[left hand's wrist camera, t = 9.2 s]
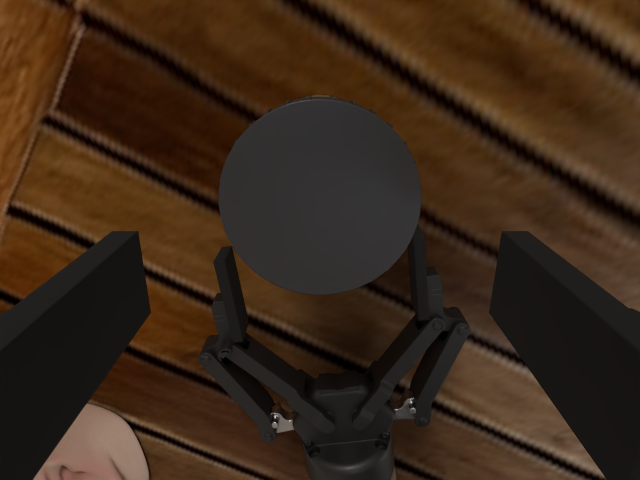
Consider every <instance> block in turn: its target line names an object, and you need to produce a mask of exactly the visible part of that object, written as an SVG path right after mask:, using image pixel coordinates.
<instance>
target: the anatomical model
mask: <svg viewBox="0 0 640 480" xmlns="http://www.w3.org/2000/svg"><path fill="white" fill-rule="evenodd" d="M33 480H149V472H148V466H147V463H146V460H145V457H144V454H143V451H142V449H141V446H140V444H139V442H138V440H137V438H136V436H135V434H134V432H133V431H132V429H131V428H130V426H129V425H128V424H127V423H126V422H125V421H124V420H123V419H122V418H121V417H120V416H118V415H117V414H115V413H113V412H111V411H109V410H107V409H104V408H102V407H99V406H96V405H92V404H88V403H87V404H86V405H85V407H84V408H83V409H82V411H81V412H80V414H79V415H78V417H77V418H76V419H75V421H74V422H73V424H72V425H71V426H70V428H69V429H68V431H67V432H66V434H65V435H64V436H63V438H62V439H61V441H60V442H59V443H58V445H57V446H56V448H55V449H54V451H53V452H52V453H51V455H50V456H49V458H48V459H47V460H46V462H45V463H44V465H43V466H42V468H41V469H40V470H39V472H38V473H37V475H36V476H35V477H34V479H33Z"/></svg>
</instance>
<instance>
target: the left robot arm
mask: <svg viewBox="0 0 640 480" xmlns="http://www.w3.org/2000/svg"><path fill="white" fill-rule="evenodd" d="M150 313H151V311H150V305H149V298H148V292H147V285H146V279H145V272H144V266H143V260H142V253H141V247H140V240H139V234H138V231H112V232H111V233H109V234H108V235H107V236H106V237H104V238H103V239H102V240H100V241H99V242H98V243H96V244H95V245H94V246H92V247H91V248H90V249H88V250H87V251H86V252H85V253H83V254H82V255H81V256H79V257H78V258H77V259H75V260H74V261H73V262H71V263H70V264H69V265H68V266H66V267H65V268H64V269H62V270H61V271H60V272H58V273H57V274H56V275H54V276H53V277H52V278H50V279H49V280H48V281H47V282H45V283H44V284H43V285H41V286H40V287H39V288H37V289H36V290H35V291H33V292H32V293H31V294H30V295H28V296H27V297H26V298H24V299H23V300H22V301H20V302H19V303H18V304H16V305H15V306H14V307H12V308H11V309H10V310H7V311H5V312H3V313H1V314H0V480H33V479H34V477H35V476H36V475H37V473H38V472H39V470H40V469H41V468H42V466H43V465H44V463H45V462H46V460H47V459H48V458H49V456H50V455H51V453H52V452H53V451H54V449H55V448H56V446H57V445H58V443H59V442H60V441H61V439H62V438H63V436H64V435H65V434H66V432H67V431H68V429H69V428H70V426H71V425H72V424H73V422H74V421H75V419H76V418H77V417H78V415H79V414H80V412H81V411H82V409H83V408H84V407H85V405H86V404H87V402H88V401H89V400H90V398H91V397H92V395H93V394H94V392H95V391H96V390H97V388H98V387H99V385H100V384H101V383H102V381H103V380H104V378H105V377H106V375H107V374H108V373H109V371H110V370H111V368H112V367H113V365H114V364H115V363H116V361H117V360H118V358H119V357H120V356H121V354H122V353H123V351H124V350H125V348H126V347H127V346H128V344H129V343H130V341H131V340H132V339H133V337H134V336H135V334H136V333H137V331H138V330H139V329H140V327H141V326H142V324H143V323H144V322H145V320H146V319H147V317H148V316H149V314H150ZM489 313H490V314H491V316H492V317H493V319H494V320H495V322H496V323H497V324H498V326H499V327H500V329H501V330H502V331H503V333H504V334H505V336H506V337H507V339H508V340H509V341H510V343H511V344H512V346H513V347H514V348H515V350H516V351H517V353H518V354H519V356H520V357H521V358H522V360H523V361H524V363H525V364H526V365H527V367H528V368H529V370H530V371H531V373H532V374H533V375H534V377H535V378H536V380H537V381H538V383H539V384H540V385H541V387H542V388H543V390H544V391H545V392H546V394H547V395H548V397H549V398H550V400H551V401H552V402H553V404H554V405H555V407H556V408H557V409H558V411H559V412H560V414H561V415H562V417H563V418H564V419H565V421H566V422H567V424H568V425H569V426H570V428H571V429H572V431H573V432H574V434H575V435H576V436H577V438H578V439H579V441H580V442H581V443H582V445H583V446H584V448H585V449H586V451H587V452H588V453H589V455H590V456H591V458H592V459H593V460H594V462H595V463H596V465H597V466H598V468H599V469H600V470H601V472H602V473H603V475H604V476H605V477H606V479H607V480H640V312H639V311H636V310H634V309H632V308H628V307H626V306H625V305H624V304H622V303H621V302H620V301H618V300H617V299H616V298H614V297H613V296H612V295H610V294H609V293H608V292H607V291H605V290H604V289H603V288H601V287H600V286H599V285H597V284H596V283H595V282H593V281H592V280H591V279H590V278H588V277H587V276H586V275H584V274H583V273H582V272H580V271H579V270H578V269H576V268H575V267H574V266H572V265H571V264H570V263H569V262H567V261H566V260H565V259H563V258H562V257H561V256H559V255H558V254H557V253H555V252H554V251H553V250H552V249H550V248H549V247H548V246H546V245H545V244H544V243H542V242H541V241H540V240H538V239H537V238H536V237H534V236H533V235H532V234H531V233H529V232H528V231H502V234H501V240H500V247H499V253H498V260H497V266H496V272H495V279H494V285H493V292H492V298H491V305H490V311H489Z"/></svg>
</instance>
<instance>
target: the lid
mask: <svg viewBox="0 0 640 480" xmlns="http://www.w3.org/2000/svg"><path fill="white" fill-rule="evenodd" d="M375 114H376V113H375V112H374V111H373V110H371V109H370V110H368V109H366V108H364V107H362V106H360V105H358V104H356V103H355V102H354V101H353V100H351V102H350V101H347V100H343V99H338V98H334V97H333V96H332V95H330V97H312V96H311V95H309V97H307V98H302V99H297V100H293V101H291V99H290V100H288V101H287V102H286V103H285V104H282V105H280V106H278V107H276V108H274V109H273V110H272V108H270V109H269V110H268V111H266V114H265V115H264V116H262V117H261V118H260V119H258V120H257V121H253V122H252V123H250V124H249V125H248V126H249V128H248V129H247V130H246V131H245V132H244V133H243V134H242V135H241V137H239V138H238V139H237V140H236V141H235V144H234V146H233V148H232V150H231V151H230V153H229V155H228V157H227V159H226V160H225V165H224V167H223V171H222V175H221V179H220V186H219V209H220V214H221V220H222V223H223V226H224V229H225V232H226V234H227V236H228V239H229V241H230V243H231V244H232V246H233V248H234V249H235V251H236V252H237V254H238V255H239V256H240V257H241V259H242V260H243V261H244V262H245V263H246V264H247V265H248V266H249V267H250V268H251V269H252V270H253V271H254V272H256V273H257V274H258V275H260V276H261V277H263V278H264V279H266V280H267V281H269V282H271V283H273V284H275V285H277V286H279V287H282V288H284V289H287V290H291V291H294V292H298V293H304V294H313V295H327V294H336V293H341V292H346V291H349V290H353V289H356V288H358V287H361V286H363V285H365V284H367V283H369V282H371V281H373V280H374V279H376V278H377V277H379V276H380V275H382V274H383V273H384V272H385V271H387V270H388V269H389V268H390V267H391V266H392V265H393V264H394V263H395V262H396V261H397V260H398V259H399V257H400V256H401V255H402V253H403V252H404V251H405V249H406V248H407V246H408V244H409V242H410V241H411V239H412V237H413V234H414V232H415V229H416V226H417V223H418V219H419V215H420V208H421V186H420V179H419V175H418V171H417V168H416V164H415V161H414V160H413V157H412V155H411V153H410V151H409V150H408V148H407V146H406V142H405V141H403V140H402V139H401V138H400V137H399V135H398V134H397V133H396V132H395V131H394V130H393V129H392V128H393V126H392V125H390V124H389V123H388V122H385V121H383V120H382V119H381V118H379V117H378V116H377V115H375Z"/></svg>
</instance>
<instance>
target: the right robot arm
mask: <svg viewBox="0 0 640 480" xmlns="http://www.w3.org/2000/svg"><path fill="white" fill-rule="evenodd" d="M408 260H409V274H410V288H411V302H412V305H413V307H414V310H415V312H416V315H415V316H414V317H413V318H412V320H411V321H410V322H409V323H408V325H407V326H406V327H405V328H404V329H403V331H402V332H401V333H400V334H399V336H398V337H397V338H396V339H395V340H394V342H393V343H392V344H391V345H390V347H389V348H388V349H387V350H386V351H385V353H384V354H383V355H382V356H381V358H380V359H379V360H378V361H374V362H373V363H372V364H371V365H370V367H369V368H368V369H367V370H366V371H365V373H364V374H361V373H357V370H353V371H346V372H344V373H341V374H331V373H326V374H319V378H316V379H314V378H312V377H311V376H310V375H308V374H307V373H306V372H304V371H303V370H301V369H299V370H296V369H295V368H293V367H292V366H291V365H289V364H288V363H287V362H285V361H284V360H283V359H281V358H280V357H278V356H277V355H276V354H274V353H273V352H272V351H270V350H269V349H268V348H266V347H265V346H263V345H262V344H261V343H259V342H258V341H257V340H255V339H254V338H253V337H251V336H250V335H248V334H247V333H246V330H247V326H248V323H249V321H248V316H247V312H246V307H245V303H244V299H243V294H242V290H241V285H240V281H239V276H238V272H237V267H236V263H235V258H234V254H233V249H232V246H229V247H222V248H221V250H220V251H219V253H218V255H217V257H216V259H215V260H214V266H215V270H216V274H217V278H218V283H219V287H220V291H221V293H217V295H216V297H215V299H214V301H213V305H212V311H213V315H214V319H215V323H216V327H217V331H218V335H216V336H215V335H211V336H209V337H208V338H207V339H206V342H205V344H204V346H203V349H202V351H201V353H200V356H199V358H198V359H199V362H200V364H201V365H202V366H203V367H204V368H205V369H206V370H207V371H208V372H209V373H210V375H211V376H212V377H213V378H214V379H215V380H216V381H217V382H218V383H219V384H220V385H221V386H222V387H223V388H224V390H225V391H226V392H227V393H228V394H229V395H230V396H231V397H232V398H233V399H234V400H235V401H236V402H237V403H238V405H239V406H240V407H241V408H242V409H243V410H244V411H245V412H246V413H247V414H248V415H249V416H250V417H251V419H252V420H253V421H254V422H255V423H256V425H257V428H258V430H259V433H260V436H261V438H262V440H263V441H264V442H267V443H271V442H274V441H275V439H276V434H277V433H280V432H285V431H290V430H295V431H296V432H297V433H298V434H299V436H300V437H301V439H302V443H303V448H304V453H305V458H306V463H307V468H308V473H309V477H310V480H396V472H395V467H394V453H393V443H392V433H391V427H392V424H393V423H394V421H395V419H414V420H415V424H416V425H417V426H419V427H425V426H427V425H428V424H429V423H430V416H431V404H432V402H433V400H434V398H435V397H436V395H437V393H438V391H439V389H440V387H441V385H442V383H443V382H444V380H445V378H446V376H447V374H448V372H449V370H450V368H451V367H452V365H453V363H454V361H455V359H456V357H457V355H458V353H459V352H460V350H461V348H462V346H463V344H464V342H465V340H466V339H467V337H468V335H469V333H470V327H469V325H468V323H467V321H466V320H465V318H464V316H463V315H462V313H461V311H460V310H459V308H457V307H450V308H449V309H448V308H444V307H443V296H442V280H441V278H440V276H439V275H438V273H437V271H436V269H435V268H434V267H428V268H426V251H425V235H424V234H423V232H422V230H421V229H420V227H419V226H418V224H417V226H416V229H415V232H414V234H413V237H412V239H411V241H410V242H409V244H408ZM426 349H427V350H426ZM425 351H426V352H425ZM424 352H425V354H424V356H423V358H422V360H421V362H420V364H419V366H418V368H417V370H416V372H415V374H414V376H413V378H412V381H411V385H410V389H409V388H406V389H405V390H404V393H403V395H402V397H401V399H400V400H398V401H396V402H393V400H392V399H391V398H390V397H391V396H392V394H393V390H394V387H395V386H396V385H397V383H398V382H399V381H400V380H401V379H402V378H403V376H404V375H405V374H406V373H407V372H408V370H409V369H410V368H411V367H412V366H413V365H414V363H415V362H416V361H417V360H418V359H419V358H420V356H421V355H422V354H423V353H424ZM257 379H258V380H259V381H261V382H262V383H263V384H265V385H266V386H268V387H269V388H270V389H272V390H273V391H275V392H276V393H278V394H279V395H280V396H282V397H283V398H285V399H286V401H287V403H288V405H289V406H290V407H291V408H292V409H293V410H294V411H293V412H292V413H289V412H286V411H285V410H284V409H283V408H282V407H281V404H280V403H279V402H276V403H274V401H273V399H272V397H271V396H270V394H269V393H268V392H267V391H266V389H265V388H264V387H263V386H262V385H261V384H260V383H259V382H258V381H257ZM304 391H305V393H304Z"/></svg>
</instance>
